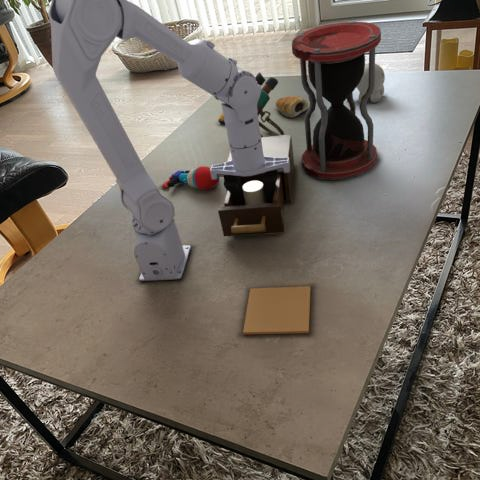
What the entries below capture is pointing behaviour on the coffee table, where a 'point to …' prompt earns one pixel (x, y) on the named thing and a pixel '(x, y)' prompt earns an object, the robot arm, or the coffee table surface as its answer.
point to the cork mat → (278, 310)
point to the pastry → (291, 106)
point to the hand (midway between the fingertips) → (256, 207)
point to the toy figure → (193, 178)
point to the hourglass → (337, 97)
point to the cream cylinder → (254, 193)
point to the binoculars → (263, 101)
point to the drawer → (253, 212)
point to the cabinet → (279, 149)
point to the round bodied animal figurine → (377, 86)
